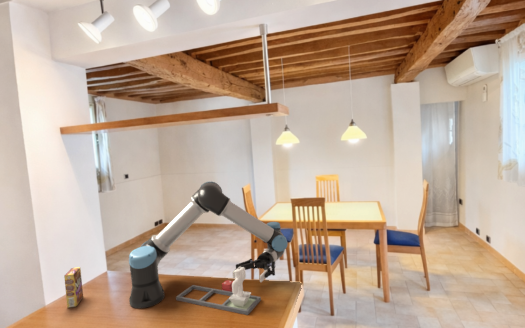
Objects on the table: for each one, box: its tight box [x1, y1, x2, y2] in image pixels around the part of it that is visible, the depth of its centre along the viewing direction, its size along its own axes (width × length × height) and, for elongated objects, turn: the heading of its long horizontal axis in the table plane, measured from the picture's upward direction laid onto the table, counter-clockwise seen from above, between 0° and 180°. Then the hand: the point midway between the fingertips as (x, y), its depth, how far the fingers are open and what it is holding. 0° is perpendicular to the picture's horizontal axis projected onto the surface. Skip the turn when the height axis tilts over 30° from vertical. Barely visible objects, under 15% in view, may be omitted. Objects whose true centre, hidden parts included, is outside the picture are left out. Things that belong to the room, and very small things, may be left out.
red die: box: [221, 279, 234, 292], centre depth 146 cm, size 4×4×4 cm
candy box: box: [63, 266, 84, 309], centre depth 145 cm, size 9×4×15 cm, turn 12°
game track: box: [175, 284, 262, 316], centre depth 138 cm, size 37×12×2 cm, turn 64°
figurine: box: [229, 267, 252, 307], centre depth 133 cm, size 7×9×15 cm
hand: (246, 277), depth 137 cm, fingers open, 13 cm apart
